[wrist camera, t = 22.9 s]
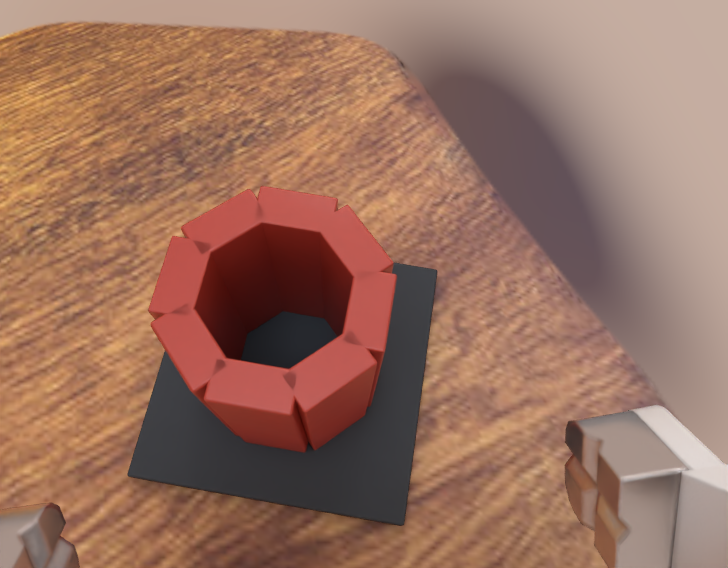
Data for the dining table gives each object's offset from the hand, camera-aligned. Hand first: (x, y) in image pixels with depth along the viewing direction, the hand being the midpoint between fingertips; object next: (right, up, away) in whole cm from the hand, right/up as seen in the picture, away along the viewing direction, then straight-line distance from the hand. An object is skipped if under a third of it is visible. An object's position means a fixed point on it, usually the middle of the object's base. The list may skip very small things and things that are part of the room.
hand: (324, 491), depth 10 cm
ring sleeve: (-2, 0, +14) cm, 14 cm away
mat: (-2, 0, +14) cm, 14 cm away
